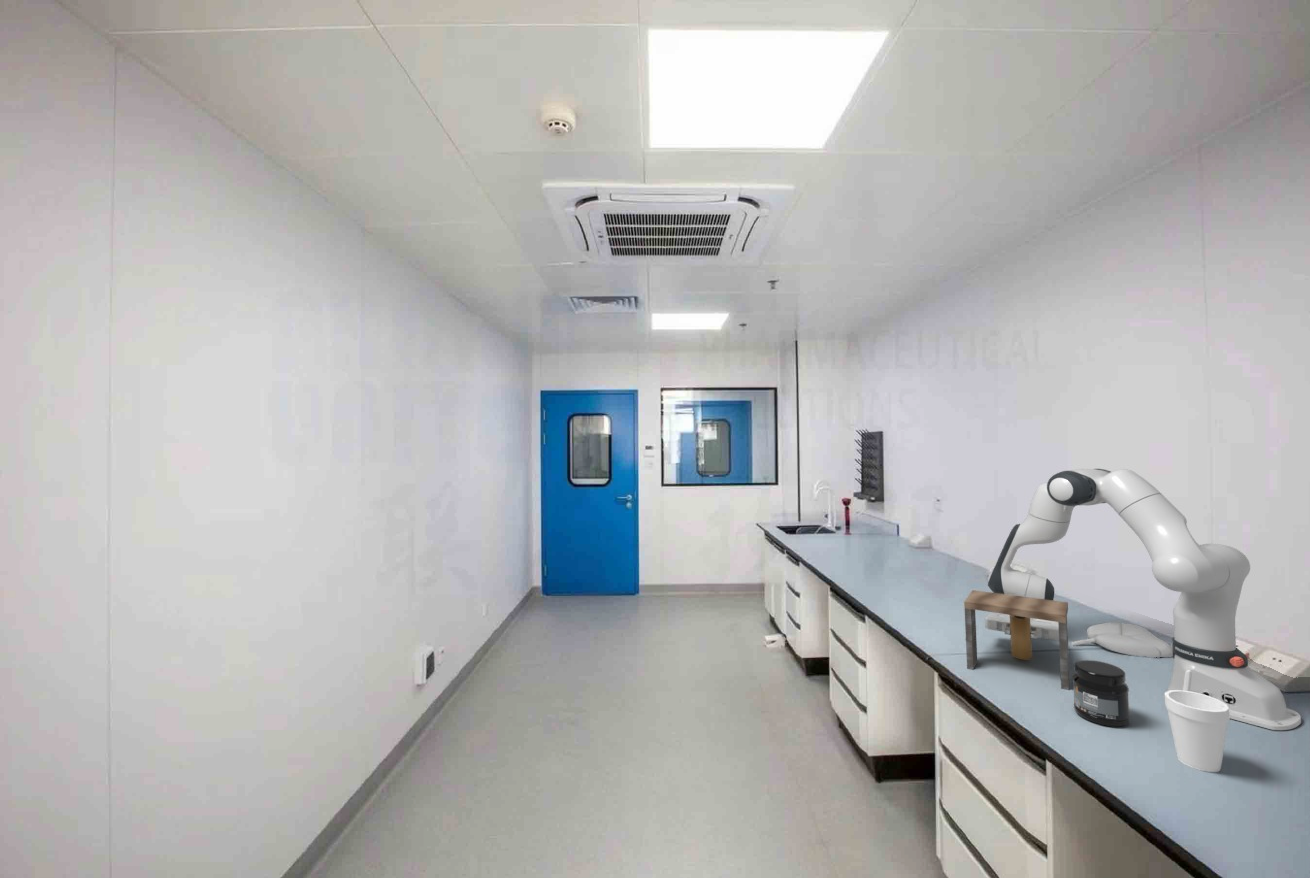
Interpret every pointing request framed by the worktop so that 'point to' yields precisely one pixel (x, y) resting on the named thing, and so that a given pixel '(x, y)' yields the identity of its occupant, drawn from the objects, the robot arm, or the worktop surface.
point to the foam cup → (1198, 728)
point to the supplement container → (1101, 693)
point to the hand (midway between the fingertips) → (1020, 634)
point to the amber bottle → (1020, 637)
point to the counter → (1017, 608)
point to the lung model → (1126, 640)
